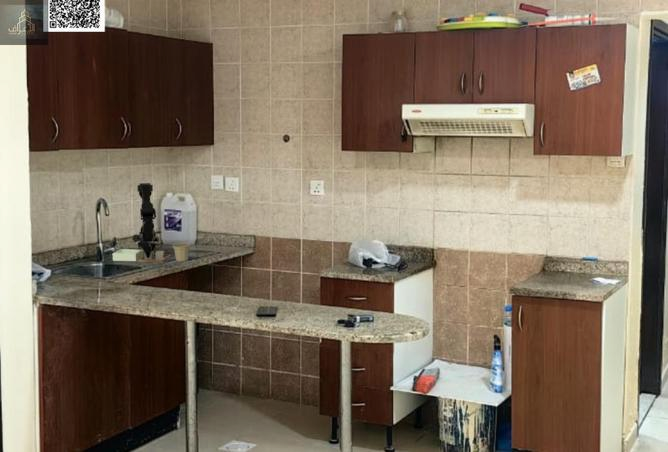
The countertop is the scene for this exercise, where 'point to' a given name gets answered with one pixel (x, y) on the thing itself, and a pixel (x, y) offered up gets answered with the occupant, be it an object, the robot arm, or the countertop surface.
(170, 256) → the tray
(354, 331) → the countertop surface
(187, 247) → the flower pot
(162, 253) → the pebble
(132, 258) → the bin
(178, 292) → the countertop surface
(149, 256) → the pebble
